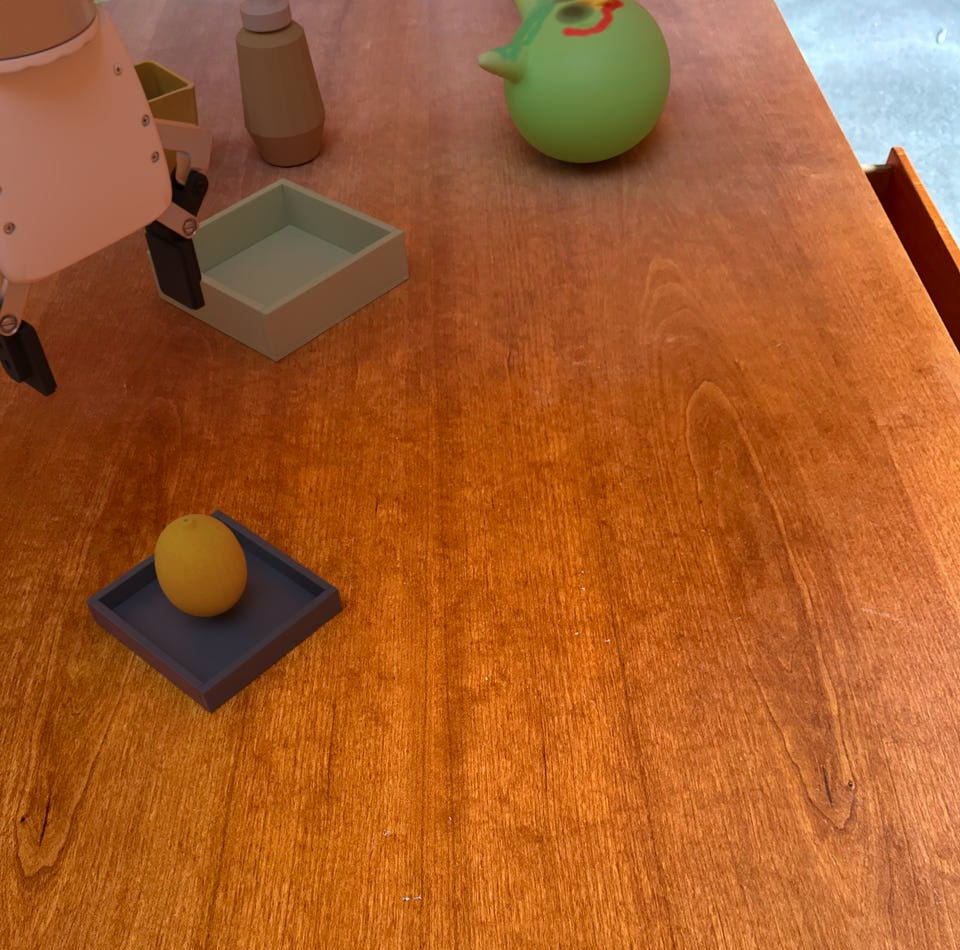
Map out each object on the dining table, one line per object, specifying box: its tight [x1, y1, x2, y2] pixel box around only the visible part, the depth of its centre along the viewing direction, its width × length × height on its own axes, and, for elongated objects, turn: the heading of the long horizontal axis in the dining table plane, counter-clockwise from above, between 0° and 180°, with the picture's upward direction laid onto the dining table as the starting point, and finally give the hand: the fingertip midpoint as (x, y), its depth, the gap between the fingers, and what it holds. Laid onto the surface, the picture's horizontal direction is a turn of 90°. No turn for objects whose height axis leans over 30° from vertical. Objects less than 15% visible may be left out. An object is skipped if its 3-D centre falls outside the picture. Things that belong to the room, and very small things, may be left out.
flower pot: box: [133, 58, 199, 175], centre depth 115 cm, size 9×9×9 cm
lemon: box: [154, 513, 247, 617], centre depth 74 cm, size 6×6×8 cm
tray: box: [85, 508, 343, 714], centre depth 77 cm, size 12×11×2 cm
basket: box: [146, 177, 410, 363], centre depth 102 cm, size 16×16×4 cm
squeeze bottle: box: [235, 0, 326, 167], centre depth 113 cm, size 8×8×18 cm
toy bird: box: [477, 0, 671, 164], centre depth 112 cm, size 18×17×15 cm
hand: (112, 340), depth 63 cm, fingers open, 9 cm apart
